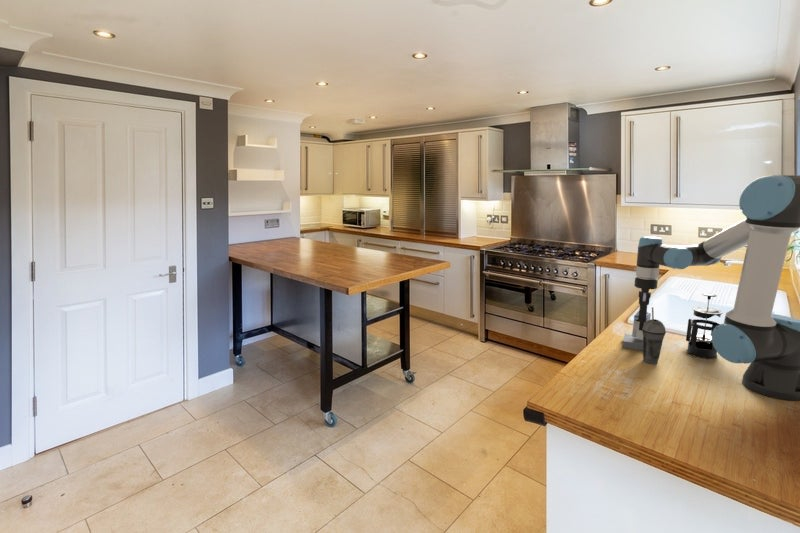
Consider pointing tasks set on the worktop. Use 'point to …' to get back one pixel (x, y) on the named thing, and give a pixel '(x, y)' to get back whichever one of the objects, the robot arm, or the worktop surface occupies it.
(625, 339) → the base board
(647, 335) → the beverage cup
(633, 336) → the medicine box
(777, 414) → the worktop surface
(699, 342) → the french press
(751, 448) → the worktop surface
